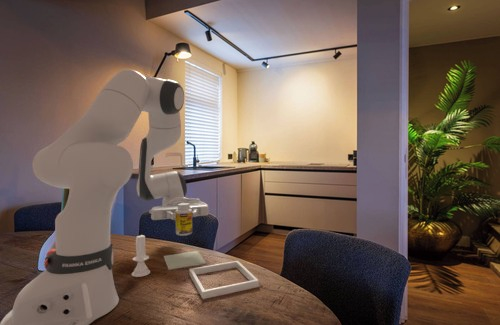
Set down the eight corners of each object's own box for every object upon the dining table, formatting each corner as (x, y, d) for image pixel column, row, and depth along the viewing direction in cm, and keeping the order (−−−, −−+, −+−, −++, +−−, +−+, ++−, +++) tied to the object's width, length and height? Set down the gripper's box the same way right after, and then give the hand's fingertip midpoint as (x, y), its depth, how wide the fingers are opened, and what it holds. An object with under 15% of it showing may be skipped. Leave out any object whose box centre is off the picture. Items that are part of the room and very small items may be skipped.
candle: (154, 271, 86) (153, 233, 86) (140, 278, 81) (140, 237, 81) (141, 268, 88) (140, 231, 88) (127, 275, 83) (127, 235, 83)
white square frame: (202, 299, 69) (202, 292, 69) (189, 274, 84) (189, 268, 84) (258, 286, 76) (258, 280, 76) (237, 266, 90) (237, 260, 90)
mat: (168, 270, 87) (168, 268, 87) (163, 257, 98) (163, 255, 98) (206, 263, 92) (206, 262, 92) (197, 252, 103) (197, 250, 103)
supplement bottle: (179, 237, 91) (178, 206, 91) (173, 233, 96) (172, 203, 95) (195, 234, 94) (194, 204, 94) (189, 230, 99) (188, 201, 98)
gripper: (148, 202, 102) (151, 208, 90) (203, 198, 111) (213, 203, 98) (148, 219, 102) (151, 228, 90) (203, 213, 111) (213, 221, 98)
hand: (184, 215), depth 94 cm, fingers closed on supplement bottle, 6 cm apart
